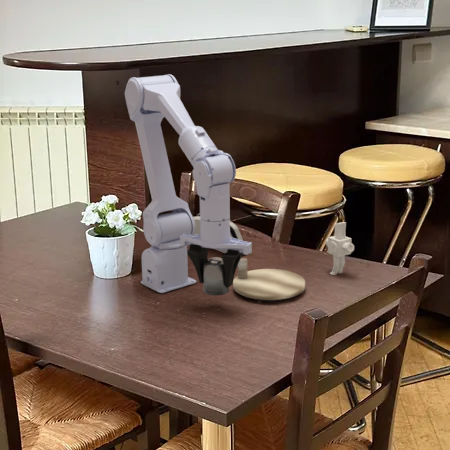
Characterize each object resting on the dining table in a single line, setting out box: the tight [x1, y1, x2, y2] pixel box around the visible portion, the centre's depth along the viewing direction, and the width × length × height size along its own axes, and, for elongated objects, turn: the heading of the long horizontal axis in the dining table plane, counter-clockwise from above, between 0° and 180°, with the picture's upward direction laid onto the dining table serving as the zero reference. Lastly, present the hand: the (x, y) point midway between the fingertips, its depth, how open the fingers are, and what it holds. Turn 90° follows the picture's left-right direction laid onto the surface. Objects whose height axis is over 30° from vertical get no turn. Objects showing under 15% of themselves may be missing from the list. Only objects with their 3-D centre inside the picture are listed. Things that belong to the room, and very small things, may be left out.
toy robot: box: [325, 221, 355, 276], centre depth 169 cm, size 4×8×12 cm, turn 34°
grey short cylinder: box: [202, 256, 230, 297], centre depth 152 cm, size 5×5×7 cm
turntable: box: [232, 257, 306, 300], centre depth 161 cm, size 15×15×5 cm
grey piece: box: [193, 212, 253, 254], centre depth 187 cm, size 17×5×10 cm, turn 38°
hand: (216, 283), depth 153 cm, fingers closed on grey short cylinder, 5 cm apart
